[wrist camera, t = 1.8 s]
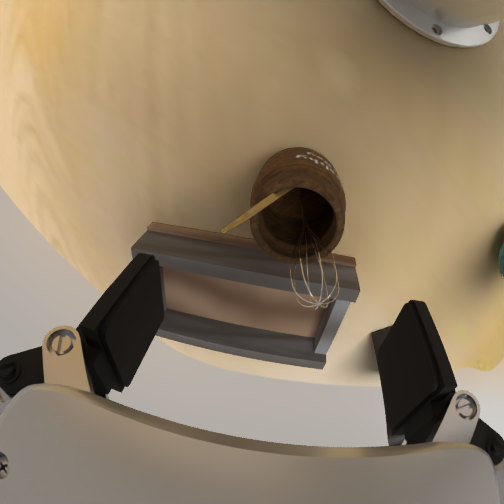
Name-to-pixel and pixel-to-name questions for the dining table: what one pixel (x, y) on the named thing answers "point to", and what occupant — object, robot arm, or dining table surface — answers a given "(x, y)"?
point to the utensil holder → (297, 210)
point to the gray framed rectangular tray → (246, 296)
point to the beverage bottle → (501, 260)
